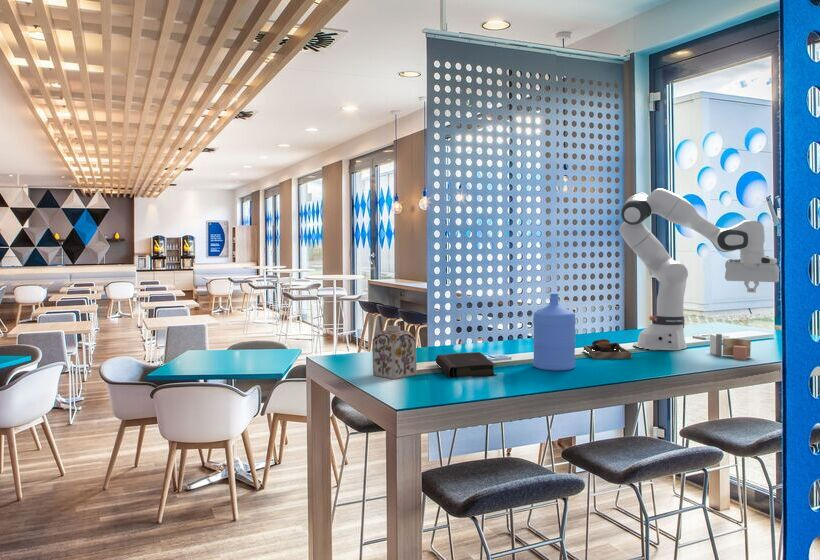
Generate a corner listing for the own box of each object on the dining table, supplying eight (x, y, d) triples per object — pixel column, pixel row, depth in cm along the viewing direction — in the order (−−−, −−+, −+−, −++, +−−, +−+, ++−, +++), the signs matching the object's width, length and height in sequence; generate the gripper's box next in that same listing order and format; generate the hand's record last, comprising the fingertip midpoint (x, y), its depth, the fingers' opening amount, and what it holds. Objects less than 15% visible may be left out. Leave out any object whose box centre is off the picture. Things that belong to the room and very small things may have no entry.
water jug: (576, 371, 232) (576, 295, 231) (532, 370, 235) (532, 295, 234) (574, 363, 247) (574, 292, 246) (533, 362, 251) (533, 292, 249)
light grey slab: (717, 356, 261) (717, 334, 260) (709, 352, 269) (709, 331, 268) (721, 356, 261) (721, 334, 260) (713, 352, 269) (713, 331, 268)
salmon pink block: (745, 359, 252) (745, 347, 252) (732, 358, 255) (733, 346, 255) (747, 358, 255) (747, 346, 255) (735, 357, 258) (735, 345, 258)
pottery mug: (590, 359, 260) (587, 340, 264) (596, 365, 267) (593, 347, 271) (620, 353, 255) (616, 334, 259) (625, 360, 262) (621, 341, 266)
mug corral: (593, 358, 258) (593, 352, 258) (583, 351, 275) (583, 345, 275) (631, 358, 257) (631, 352, 257) (619, 351, 275) (619, 345, 274)
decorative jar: (371, 375, 230) (371, 326, 229) (395, 370, 238) (394, 323, 237) (394, 380, 221) (393, 329, 220) (417, 375, 229) (417, 325, 228)
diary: (447, 380, 224) (447, 366, 224) (435, 366, 249) (435, 354, 248) (499, 377, 226) (498, 363, 226) (482, 364, 251) (481, 351, 251)
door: (722, 355, 260) (723, 338, 260) (722, 354, 262) (723, 337, 262) (750, 356, 256) (750, 339, 256) (750, 356, 258) (750, 338, 258)
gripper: (722, 259, 268) (722, 291, 269) (777, 259, 254) (776, 294, 254) (727, 258, 272) (727, 290, 273) (781, 259, 258) (780, 292, 259)
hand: (751, 292), depth 264 cm, fingers closed
